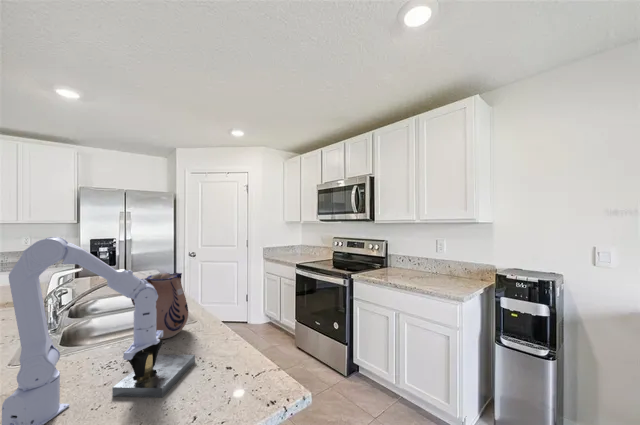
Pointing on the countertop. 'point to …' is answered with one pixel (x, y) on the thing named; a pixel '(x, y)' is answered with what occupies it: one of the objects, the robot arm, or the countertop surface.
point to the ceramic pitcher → (169, 303)
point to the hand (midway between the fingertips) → (145, 371)
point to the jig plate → (155, 377)
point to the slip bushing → (147, 368)
